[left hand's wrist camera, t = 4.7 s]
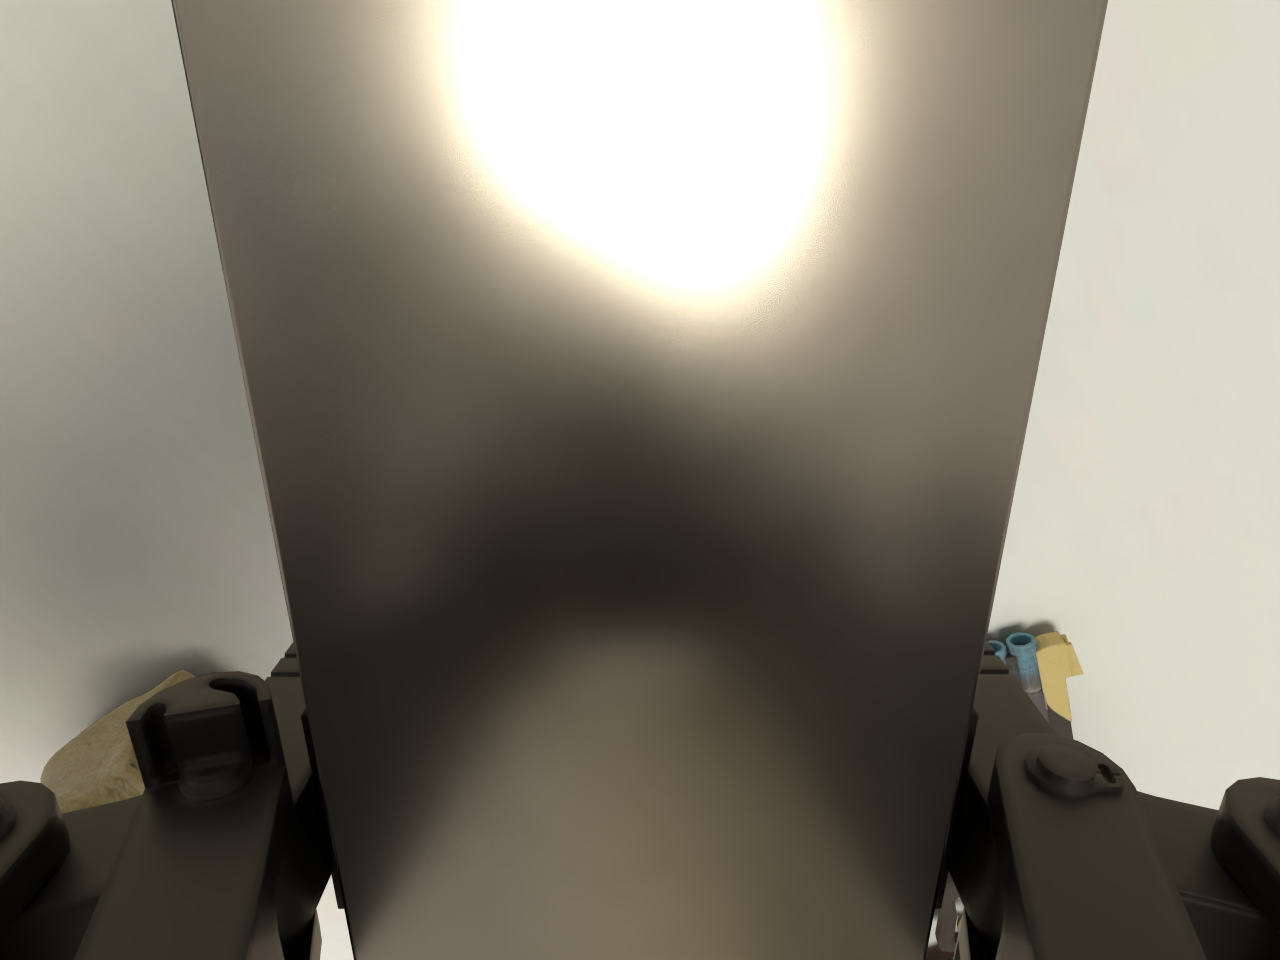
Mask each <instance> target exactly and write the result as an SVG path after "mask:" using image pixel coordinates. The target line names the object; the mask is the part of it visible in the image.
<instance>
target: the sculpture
mask: <svg viewBox="0 0 1280 960" xmlns="http://www.w3.org/2000/svg"><path fill="white" fill-rule="evenodd" d="M193 677H195V676H194V675H192V674H191V673H189V672H188V671H186V670H179V671H177V672H175V673H174V674H172V675H170V676H169V677H167V678H166V679H165V680H164V681H163V682H162V683H160V684H159V685H157V686H156V687H155V688H153V689H152V690H150V691H148V692H147V693H145V694H143V695H141V696H138V697H136V698H133V699H131V700H128V701H127V702H125V703H123V704H122V705H120V706H119V707H117V708H115V709H114V710H112V711H111V712H109V713H108V714H106V715H105V716H104V717H102V718H101V719H99V720H98V721H96V722H95V723H94V724H92V725H91V726H89V727H88V728H87V729H85V730H84V731H83V732H81V733H80V734H79V735H78V736H76V737H75V738H74V739H73V740H71V741H70V742H69V743H68V744H66V745H65V746H64V747H63V748H61V749H60V750H59V751H58V752H57V753H56V754H55V755H54V756H53V757H52V758H51V759H50V760H49V761H48V762H47V764H46V766H45V767H44V770H43V772H42V776H41V783H42V784H44V785H45V786H46V787H47V788H49V789H50V790H51V791H52V792H54V793H55V796H56V799H57V802H58V805H59V808H60V810H61V813H62V814H63V813H68V812H72V811H76V810H81V809H85V808H90V807H94V806H99V805H103V804H108V803H112V802H117V801H121V800H126V799H129V798H132V797H136V796H139V795H142V794H143V792H144V790H145V786H144V783H143V779H142V776H141V773H140V769H139V766H138V762H137V759H136V756H135V752H134V749H133V746H132V742H131V739H130V735H129V732H128V729H127V725H126V721H127V720H128V718H129V717H130V716H131V715H132V713H133V712H134V711H135V710H136V709H137V707H138V706H139V705H140V704H142V703H143V702H145V701H146V700H148V699H149V698H150V697H152V696H153V695H155V694H156V693H158V692H159V691H161V690H163V689H165V688H167V687H170V686H172V685H174V684H177V683H179V682H181V681H184V680H186V679H189V678H193Z"/></svg>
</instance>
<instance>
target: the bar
mask: <svg viewBox="0 0 1280 960" xmlns="http://www.w3.org/2000/svg"><path fill="white" fill-rule="evenodd" d="M171 1H172V6H173V12H174V17H175V22H176V27H177V33H178V38H179V43H180V48H181V54H182V59H183V64H184V69H185V75H186V80H187V85H188V90H189V96H190V101H191V106H192V111H193V117H194V122H195V127H196V132H197V138H198V143H199V148H200V153H201V159H202V164H203V169H204V174H205V180H206V185H207V190H208V195H209V201H210V206H211V211H212V216H213V222H214V227H215V232H216V237H217V243H218V248H219V253H220V258H221V264H222V269H223V274H224V279H225V285H226V290H227V295H228V300H229V306H230V311H231V316H232V321H233V327H234V332H235V337H236V342H237V348H238V353H239V358H240V363H241V369H242V374H243V379H244V384H245V390H246V395H247V400H248V405H249V411H250V416H251V421H252V426H253V432H254V437H255V442H256V447H257V453H258V458H259V463H260V468H261V474H262V479H263V484H264V489H265V495H266V500H267V505H268V510H269V516H270V521H271V526H272V531H273V537H274V542H275V547H276V552H277V557H278V563H279V568H280V573H281V578H282V584H283V589H284V594H285V599H286V605H287V610H288V615H289V620H290V626H291V631H292V636H293V641H294V647H295V652H296V657H297V662H298V668H299V673H300V678H301V683H302V689H303V694H304V699H305V704H306V710H307V715H308V720H309V725H310V731H311V736H312V741H313V746H314V752H315V757H316V762H317V767H318V773H319V778H320V783H321V788H322V794H323V799H324V804H325V809H326V815H327V820H328V825H329V830H330V836H331V841H332V846H333V851H334V857H335V862H336V867H337V872H338V878H339V883H340V888H341V893H342V899H343V904H344V909H345V914H346V920H347V925H348V930H349V935H350V941H351V946H352V951H353V956H354V960H925V957H926V952H927V947H928V942H929V937H930V931H931V926H932V921H933V916H934V910H935V905H936V900H937V895H938V889H939V884H940V879H941V874H942V868H943V863H944V858H945V853H946V847H947V842H948V837H949V832H950V826H951V821H952V816H953V811H954V805H955V800H956V795H957V790H958V784H959V779H960V774H961V769H962V763H963V758H964V753H965V748H966V742H967V737H968V732H969V727H970V721H971V716H972V711H973V706H974V700H975V695H976V690H977V685H978V679H979V674H980V669H981V664H982V659H983V653H984V648H985V643H986V638H987V632H988V627H989V622H990V617H991V611H992V606H993V601H994V596H995V590H996V585H997V580H998V575H999V569H1000V564H1001V559H1002V554H1003V548H1004V543H1005V538H1006V533H1007V527H1008V522H1009V517H1010V512H1011V506H1012V501H1013V496H1014V491H1015V485H1016V480H1017V475H1018V470H1019V464H1020V459H1021V454H1022V449H1023V443H1024V438H1025V433H1026V428H1027V422H1028V417H1029V412H1030V407H1031V402H1032V396H1033V391H1034V386H1035V381H1036V375H1037V370H1038V365H1039V360H1040V354H1041V349H1042V344H1043V339H1044V333H1045V328H1046V323H1047V318H1048V312H1049V307H1050V302H1051V297H1052V291H1053V286H1054V281H1055V276H1056V270H1057V265H1058V260H1059V255H1060V249H1061V244H1062V239H1063V234H1064V228H1065V223H1066V218H1067V213H1068V207H1069V202H1070V197H1071V192H1072V186H1073V181H1074V176H1075V171H1076V165H1077V160H1078V155H1079V150H1080V144H1081V139H1082V134H1083V129H1084V124H1085V118H1086V113H1087V108H1088V103H1089V97H1090V92H1091V87H1092V82H1093V76H1094V71H1095V66H1096V61H1097V55H1098V50H1099V45H1100V40H1101V34H1102V29H1103V24H1104V19H1105V13H1106V8H1107V3H1108V0H171Z"/></svg>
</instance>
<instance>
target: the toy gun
mask: <svg viewBox="0 0 1280 960" xmlns="http://www.w3.org/2000/svg"><path fill="white" fill-rule="evenodd" d="M988 642H989V643H990V645H991V646H992V647H993V649H994V650H995V655H998V656H999V657H1000V658H1001V660H1002V661H1003V662H1004V664H1005V665H1006V666H1007V668H1008V669H1009V674H1012V675H1013V676H1014V677H1015V679H1016V680H1017V681H1018V683H1019V684H1020V685H1021V687H1022V688H1023V689H1024V691H1025V692H1026V693H1027V695H1028V696H1029V697H1030V699H1031V700H1032V702H1033V703H1034V704H1035V706H1036V707H1037V708H1038V710H1039V711H1040V712H1041V714H1042V715H1043V716H1044V718H1045V719H1046V720H1047V722H1048V723H1049V724H1050V726H1051V727H1052V729H1053V730H1054V731H1055V733H1056V734H1057V735H1058V736H1062V737H1065V738H1069V739H1073V734H1072V728H1071V722H1072V719H1071V711H1070V705H1069V698H1068V692H1067V686H1066V677H1070V676H1075V675H1080V674H1083V671H1082V669H1081V666H1080V664H1079V661H1078V659H1077V656H1076V654H1075V651H1074V649H1073V646H1072V644H1071V642H1068V640H1067V637H1066V635H1065V634H1064V635H1059V633H1058V632H1057V631H1056V632H1050V633H1045V634H1041V635H1038V636H1036V637H1035V636H1033V635H1032V634H1029V633H1024V632H1018V633H1014V634H1011V635H1010V636H1009V637H1007V638H1006V644H1007V646H1005V645H1004V644H1003V643H1002V642H999V641H995V640H990V641H988ZM958 897H960V896H959V893H958V891H957V889H956V887H955V884H954V882H953V880H952V878H951V875H950V873H949V871H948V877H947V882H946V887H945V892H944V897H943V902H942V907H941V909H939V915H938V921H937V926H936V932H935V934H936V939H937V943H938V947H939V949H940V950H941V951H943V952H955V948H956V943H957V939H958V934H959V933H957V932H955V927H956V919H957V915H956V907H955V900H956V898H958ZM961 920H962V915H961V916H960V917H959V919H958V921H957V927H958V929H960V924H961ZM950 960H953V958H952V959H950Z"/></svg>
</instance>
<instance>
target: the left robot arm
mask: <svg viewBox="0 0 1280 960" xmlns="http://www.w3.org/2000/svg"><path fill="white" fill-rule="evenodd" d="M126 725H127V729H128V732H129V735H130V739H131V742H132V746H133V749H134V752H135V756H136V759H137V762H138V766H139V769H140V773H141V776H142V779H143V783H144V786H145V790H144V792H143V794H142V795H139V796H136V797H132V798H129V799H126V800H121V801H117V802H112V803H108V804H103V805H99V806H94V807H90V808H85V809H81V810H76V811H72V812H68V813H63V814H62V813H61V810H60V808H59V805H58V802H57V799H56V796H55V793H54V792H52V791H51V790H50V789H49V788H47V787H46V786H45V785H44V784H42V783H34V782H27V781H15V782H8V783H1V784H0V960H320V953H321V943H322V939H321V932H320V925H319V920H318V915H317V910H316V908H317V905H318V903H319V901H320V898H321V896H322V894H323V892H324V889H325V887H326V885H327V883H328V880H329V878H330V876H331V874H332V879H333V884H334V890H335V895H336V900H337V905H338V909H344V904H343V899H342V893H341V888H340V883H339V878H338V872H337V867H336V862H335V857H334V851H333V846H332V841H331V836H330V830H329V825H328V820H327V815H326V809H325V804H324V799H323V794H322V788H321V783H320V778H319V773H318V767H317V762H316V757H315V752H314V746H313V741H312V736H311V731H310V725H309V720H308V715H307V710H306V704H305V699H304V694H303V689H302V683H301V678H300V673H299V668H298V662H297V657H296V652H295V647H294V642H293V643H292V645H291V646H290V647H289V649H288V650H287V651H286V653H285V658H281V660H280V661H279V662H278V664H277V665H276V666H275V668H274V669H273V670H272V672H271V677H267V679H266V680H265V681H264V680H263V679H261V678H260V677H259V676H257V675H253V674H248V673H244V672H240V671H235V672H214V673H210V674H206V675H201V676H197V677H193V678H189V679H186V680H184V681H181V682H179V683H177V684H174V685H172V686H170V687H167V688H165V689H163V690H161V691H159V692H158V693H156V694H155V695H153V696H152V697H150V698H149V699H148V700H146V701H145V702H143V703H142V704H140V705H139V706H138V707H137V709H136V710H135V711H134V712H133V713H132V715H131V716H130V717H129V718H128V720H127V721H126ZM948 871H949V873H950V875H951V878H952V880H953V882H954V884H955V887H956V889H957V891H958V893H959V896H960V898H961V900H962V902H963V905H964V910H963V915H962V920H961V924H960V929H959V934H958V939H957V943H956V948H955V953H954V958H953V960H1280V780H1276V779H1269V778H1262V777H1258V778H1250V779H1242V780H1238V781H1236V782H1235V783H1234V784H1233V785H1231V786H1230V787H1229V788H1228V789H1226V791H1225V794H1224V797H1223V800H1222V803H1221V805H1220V808H1219V810H1214V809H1210V808H1205V807H1201V806H1196V805H1192V804H1187V803H1183V802H1178V801H1174V800H1169V799H1165V798H1160V797H1156V796H1152V795H1149V794H1145V793H1142V792H1138V791H1137V790H1136V788H1135V786H1134V785H1133V783H1132V782H1131V781H1130V779H1129V778H1128V776H1127V775H1126V773H1125V772H1124V770H1123V769H1122V768H1120V767H1119V766H1118V765H1117V764H1115V763H1114V762H1113V761H1112V760H1110V759H1109V758H1108V757H1107V756H1105V755H1104V754H1103V753H1101V752H1099V751H1097V750H1095V749H1093V748H1091V747H1089V746H1087V745H1085V744H1083V743H1081V742H1079V741H1076V740H1073V739H1069V738H1065V737H1062V736H1058V735H1057V734H1056V733H1055V731H1054V730H1053V729H1052V727H1051V726H1050V724H1049V723H1048V722H1047V720H1046V719H1045V718H1044V716H1043V715H1042V714H1041V712H1040V711H1039V710H1038V708H1037V707H1036V706H1035V704H1034V703H1033V702H1032V700H1031V699H1030V697H1029V696H1028V695H1027V693H1026V692H1025V691H1024V689H1023V688H1022V687H1021V685H1020V684H1019V683H1018V681H1017V680H1016V679H1015V677H1014V676H1013V675H1012V674H1009V669H1008V668H1007V666H1006V665H1005V664H1004V662H1003V661H1002V660H1001V658H1000V657H999V656H998V655H995V650H994V649H993V647H992V646H991V645H990V643H989V642H988V641H987V639H986V643H985V648H984V653H983V659H982V664H981V669H980V674H979V679H978V685H977V690H976V695H975V700H974V706H973V711H972V716H971V721H970V727H969V732H968V737H967V742H966V748H965V753H964V758H963V763H962V769H961V774H960V779H959V784H958V790H957V795H956V800H955V805H954V811H953V816H952V821H951V826H950V832H949V837H948V842H947V847H946V853H945V858H944V863H943V868H942V874H941V879H940V884H939V889H938V895H937V900H936V905H935V909H941V907H942V902H943V897H944V892H945V887H946V882H947V877H948Z"/></svg>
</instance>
